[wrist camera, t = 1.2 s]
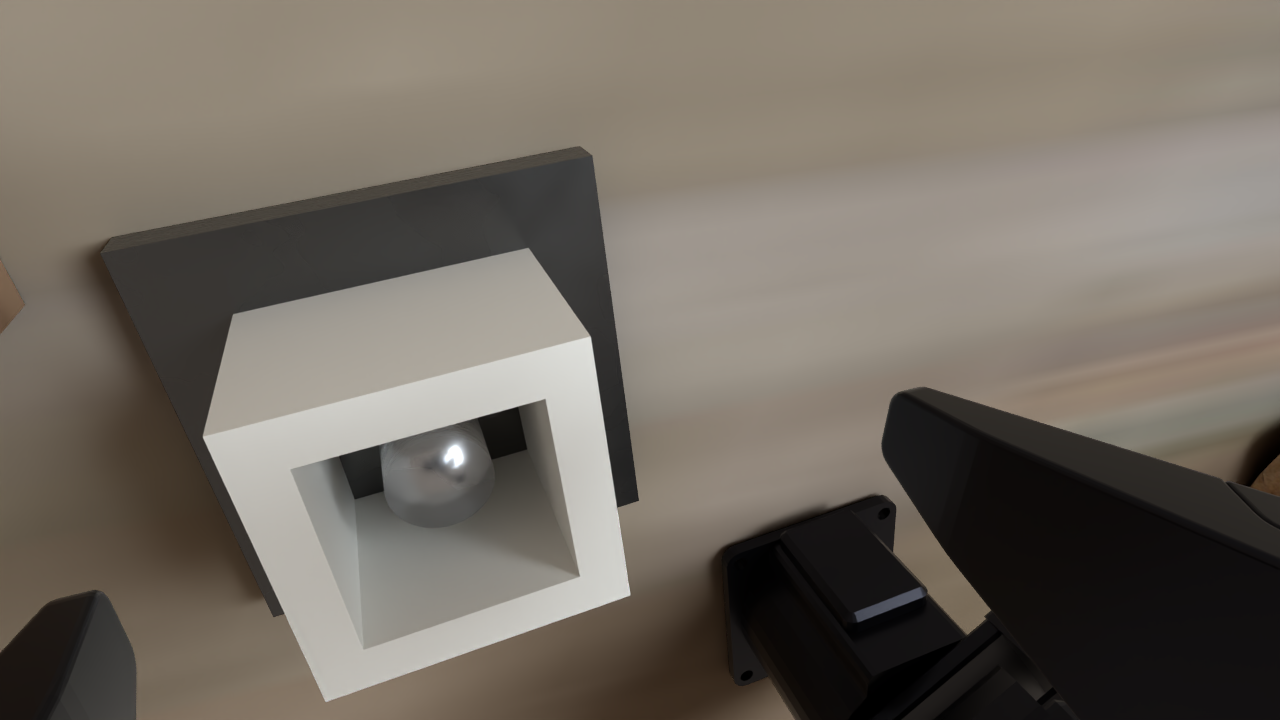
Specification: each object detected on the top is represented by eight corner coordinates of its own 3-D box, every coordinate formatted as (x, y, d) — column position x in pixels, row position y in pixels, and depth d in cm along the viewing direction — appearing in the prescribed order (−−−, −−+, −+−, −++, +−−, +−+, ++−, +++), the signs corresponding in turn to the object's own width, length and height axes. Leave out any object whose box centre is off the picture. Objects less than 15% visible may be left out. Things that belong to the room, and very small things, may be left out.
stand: (627, 480, 23) (686, 581, 20) (275, 590, 21) (265, 730, 17) (579, 146, 18) (645, 195, 15) (111, 237, 16) (47, 324, 12)
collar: (569, 468, 21) (630, 595, 17) (324, 542, 20) (325, 702, 15) (528, 247, 18) (590, 336, 14) (232, 314, 16) (202, 437, 12)
